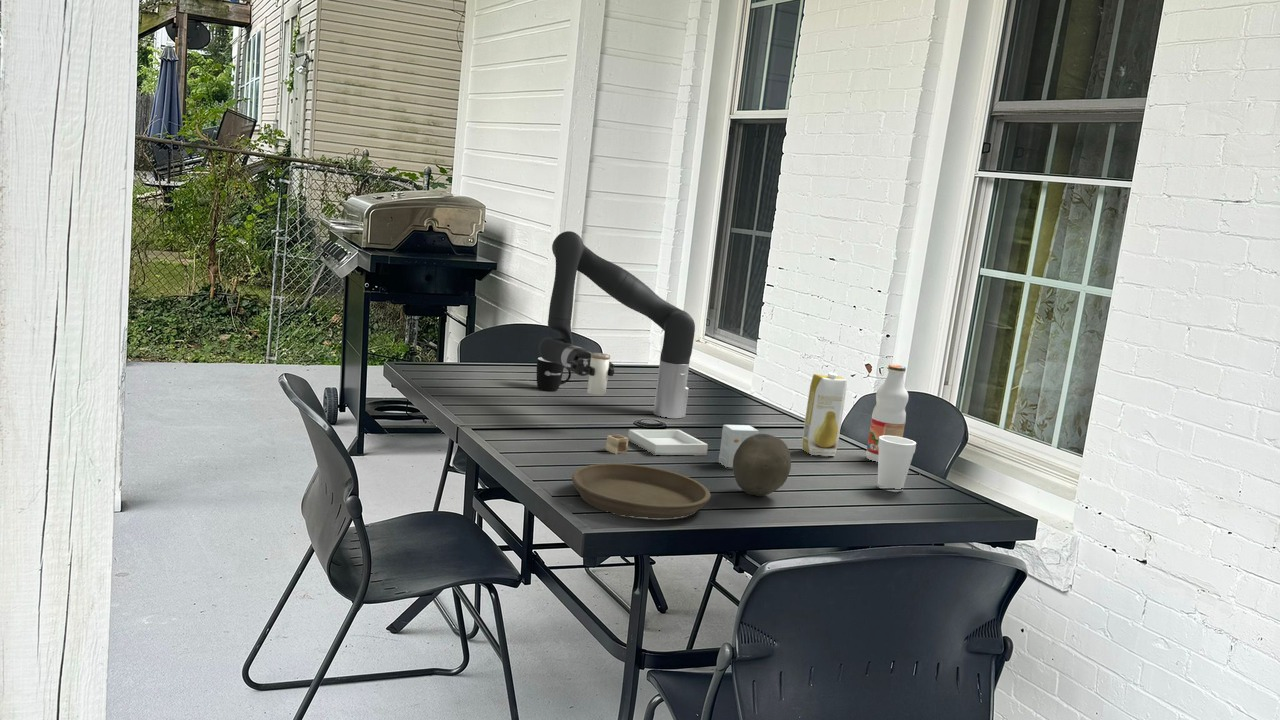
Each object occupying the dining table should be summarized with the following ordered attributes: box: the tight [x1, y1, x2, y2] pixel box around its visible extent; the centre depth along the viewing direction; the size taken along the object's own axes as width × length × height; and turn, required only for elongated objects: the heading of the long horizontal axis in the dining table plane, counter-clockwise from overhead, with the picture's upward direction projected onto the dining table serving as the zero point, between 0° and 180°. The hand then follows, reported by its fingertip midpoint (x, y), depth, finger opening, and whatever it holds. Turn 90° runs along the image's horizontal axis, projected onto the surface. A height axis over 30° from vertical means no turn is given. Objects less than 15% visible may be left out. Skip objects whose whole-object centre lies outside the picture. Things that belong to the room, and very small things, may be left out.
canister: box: [586, 352, 611, 396], centre depth 284 cm, size 5×5×11 cm
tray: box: [627, 429, 709, 456], centre depth 279 cm, size 16×16×3 cm
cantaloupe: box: [732, 433, 792, 497], centre depth 241 cm, size 14×14×15 cm
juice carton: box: [801, 372, 847, 457], centre depth 292 cm, size 9×8×24 cm
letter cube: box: [605, 434, 629, 455], centre depth 268 cm, size 4×4×4 cm
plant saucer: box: [571, 462, 711, 518], centre depth 227 cm, size 31×31×5 cm
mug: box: [536, 356, 572, 392], centre depth 339 cm, size 12×9×10 cm
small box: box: [718, 424, 760, 468], centre depth 268 cm, size 8×6×10 cm
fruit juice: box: [865, 364, 909, 463], centre depth 293 cm, size 9×9×28 cm
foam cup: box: [877, 436, 917, 489], centre depth 264 cm, size 10×9×13 cm
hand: (602, 372), depth 282 cm, fingers closed on canister, 5 cm apart
